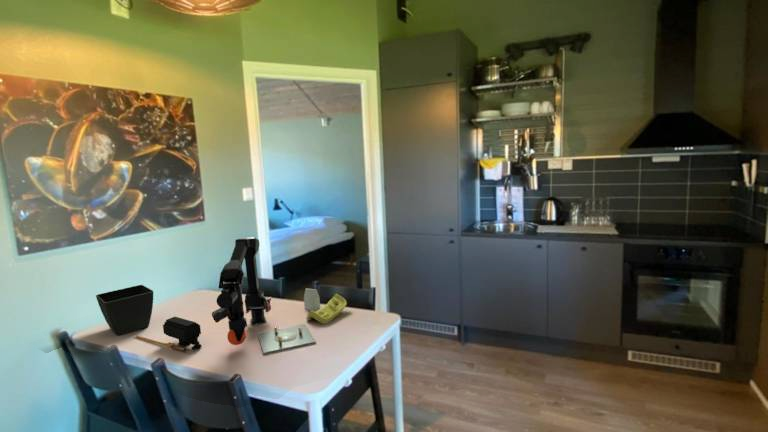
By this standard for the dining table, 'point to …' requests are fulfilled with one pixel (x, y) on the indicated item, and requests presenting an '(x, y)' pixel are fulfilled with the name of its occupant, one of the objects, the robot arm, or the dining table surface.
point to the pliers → (268, 305)
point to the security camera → (183, 331)
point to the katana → (169, 345)
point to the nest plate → (285, 339)
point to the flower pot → (127, 308)
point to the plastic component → (328, 310)
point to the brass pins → (280, 336)
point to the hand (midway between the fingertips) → (238, 337)
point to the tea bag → (311, 299)
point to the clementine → (233, 339)
